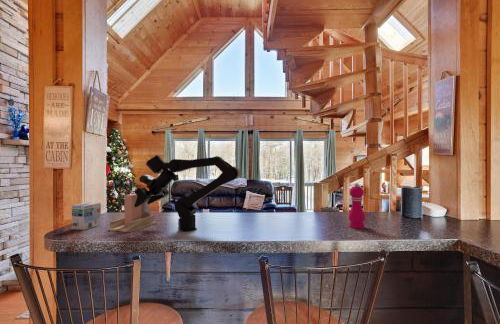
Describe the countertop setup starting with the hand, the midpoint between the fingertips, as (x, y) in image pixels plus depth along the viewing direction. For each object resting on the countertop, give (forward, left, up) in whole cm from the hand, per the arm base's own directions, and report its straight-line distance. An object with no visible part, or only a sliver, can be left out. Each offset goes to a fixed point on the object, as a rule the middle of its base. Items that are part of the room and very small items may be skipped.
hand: (141, 205), depth 129 cm
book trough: (+3, -3, -10) cm, 11 cm away
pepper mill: (-82, +54, -10) cm, 99 cm away
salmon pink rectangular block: (+3, -3, -9) cm, 10 cm away
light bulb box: (+21, -14, -10) cm, 27 cm away
